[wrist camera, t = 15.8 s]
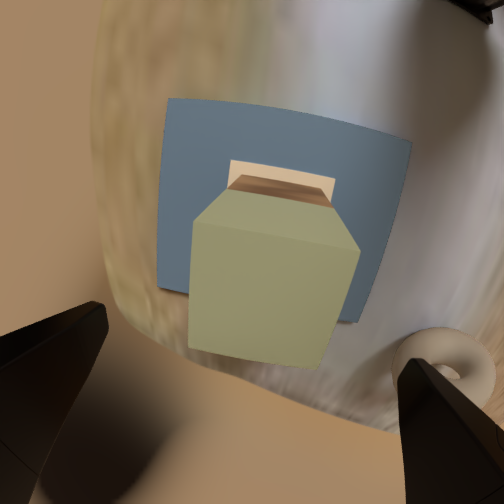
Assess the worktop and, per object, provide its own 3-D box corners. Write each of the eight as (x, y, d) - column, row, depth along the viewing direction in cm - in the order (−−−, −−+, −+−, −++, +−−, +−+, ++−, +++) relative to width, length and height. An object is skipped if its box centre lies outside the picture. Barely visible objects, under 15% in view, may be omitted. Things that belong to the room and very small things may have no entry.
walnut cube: (320, 188, 17) (334, 208, 13) (304, 260, 19) (309, 300, 15) (241, 174, 17) (226, 189, 13) (231, 247, 19) (215, 283, 15)
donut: (471, 314, 20) (520, 385, 11) (459, 342, 22) (499, 413, 13) (383, 322, 22) (419, 417, 12) (375, 352, 23) (400, 443, 14)
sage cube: (334, 208, 13) (360, 251, 8) (309, 300, 15) (317, 369, 10) (226, 188, 13) (193, 221, 8) (215, 283, 15) (187, 347, 10)
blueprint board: (407, 142, 16) (412, 142, 15) (355, 316, 22) (357, 323, 21) (172, 99, 17) (167, 98, 16) (161, 281, 22) (156, 287, 21)
